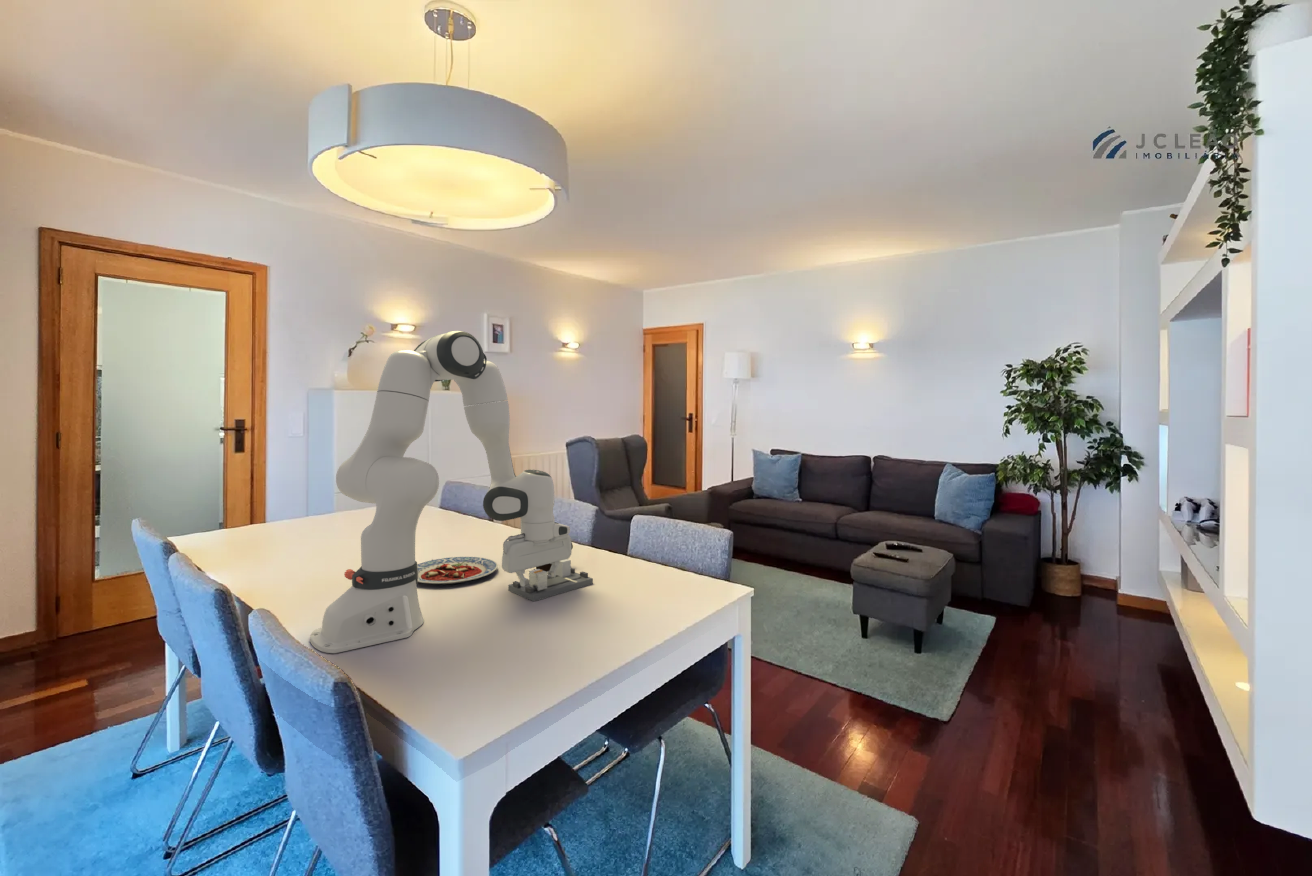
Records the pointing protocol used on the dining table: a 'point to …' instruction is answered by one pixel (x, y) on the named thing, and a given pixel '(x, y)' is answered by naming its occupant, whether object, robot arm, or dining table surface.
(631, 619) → the dining table surface
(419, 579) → the ceramic plate
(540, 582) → the block
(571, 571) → the grey slider board
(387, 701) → the dining table surface
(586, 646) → the dining table surface
